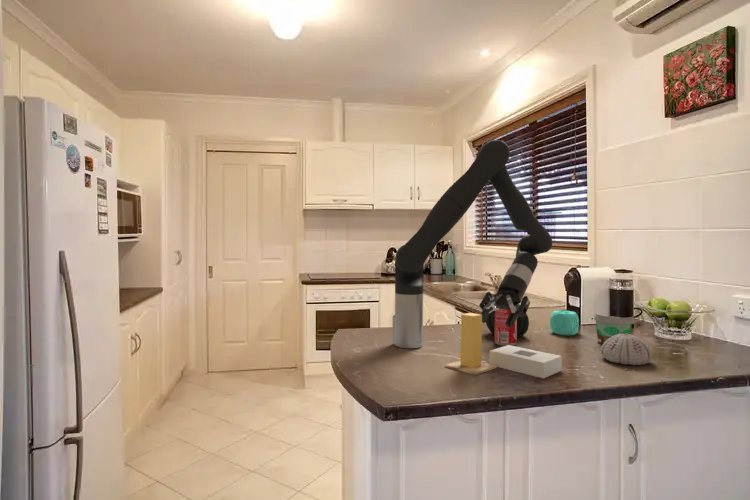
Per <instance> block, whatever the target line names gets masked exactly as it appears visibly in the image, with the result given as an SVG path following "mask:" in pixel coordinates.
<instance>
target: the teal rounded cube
mask: <svg viewBox="0 0 750 500" xmlns="http://www.w3.org/2000/svg"><path fill="white" fill-rule="evenodd" d="M579 319H580V318H579V314H577V313H576V312H575V311H573V310H571V311H570V310H553V312H551V315H550V320H549V326H550V331H551V332H552V333H553V334H556V335H560V336H574V335H576V334H577V333H578V331H579V324H580V320H579Z"/></svg>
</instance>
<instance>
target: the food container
mask: <svg viewBox="0 0 750 500" xmlns="http://www.w3.org/2000/svg"><path fill="white" fill-rule="evenodd" d="M594 314H595V315H593V320H594V321H595V325H596V336H597V338H596V339H597V344H599V345H601V346H602V345H603V344H604V342H606V340H608V339H609V338H611V337H612V336H615V335H618V334H631V335H632V327H633V324H635V318H634V316H633V315H632V316H629V317H620V316H615V315H612V316H611V315H610V316H605V315H602V314H597V313H594Z"/></svg>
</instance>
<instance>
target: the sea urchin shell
mask: <svg viewBox="0 0 750 500" xmlns="http://www.w3.org/2000/svg"><path fill="white" fill-rule="evenodd" d="M599 351H600V354H601V356H602V357H603V358H604V359H606V361H609V362H611V363H614V364H620V365H630V366H642V365H647V364H650V362H651V361H652V359H653V352H652V349H651V348H650V346H649V345H647V343H646V342H645V341H644V340H642V339H641V338H639V337H637V336H636V335H633V334H632V333H631V334H618V335H615V336H612V337H611V338H609V339H608V340H606V342H604V344H603V345H601V347H600V350H599Z"/></svg>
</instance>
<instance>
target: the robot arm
mask: <svg viewBox="0 0 750 500" xmlns="http://www.w3.org/2000/svg"><path fill="white" fill-rule="evenodd" d="M510 153H511V152H510V148H509V146H508V144H507V143H506V142H504V141H503V140H498V139H495V140H493V139H492V140H490V141H488V142H486V143H484V144H483V145H482V146H481V147H480V148H479V149H478V151H477V153H476V156H475V157H476V158H475V159H474V161H473V162H472V164H471V165H470V166H469V168H468V169H467V170H466V171H465V172H464V173H463V174H462V175H461V176H460V177H459V178H458V179H457V180H455V182H453V183H452V184H451V186H450V187H448V189H447V190H446V191H444V193H443V194H442V195H441V196H440V198H439V199H438V200H437V202H435V204H434V205H433V207H432V208H431V210H430V212H428V215H427V216H426V218H425V220H424V221H423V223H422V225H421V226H420V227H419V229H418V230H417V232H415V234H414V235H413V236H412V237H410V239H409V240H408V241H407V242H406V243H405V244H404V245H401V246H400V247H399V248H398V249H397V251H396V253H395V259H394V260H395V261H394V262H395V263H394V265H395V267H394V272H395V274H394V276H395V277H394V314H393V315H392V329H391V330H392V337H391V339H392V341H391V344H392V345H394V346H395V347H397V348H402V349H419V348H421V347H423V345H424V344H423V342H424V341H423V336H424V264H425V262H426V261H427V259H428V257H430V254H431V253H432V252H433V250H434V249H435V247H436V246H437V244H439V243H440V241H441V240H442V239H443V238H445V237H446V236H447V234H448V233H449V232H450V231H451V230H452V229H453V228H454V227H455V226H456V225H457V223H458V222H460V220H461V219H462V217H463V216H464V215H465V214H467V212H468V210H469V209H470V207H471V206H472V205H473V203H474V202H475V201H476V199H477V198H478V196H479V195H480V194H481V192H482V190H483V189H484V188H485V187H486V185H487V184H488V182H489V183H491V186H492V187H493V188H494V191H496V193H497V195H498V197H499V199H500V201H501V203H502V205H503V206H504V209H505V211H506V213H507V215H508V217H509V219H510V221H511V223H512V224H513V226H514V228H515V230H517V231H525V232H527V234H525V235H524V236H523V237H521V238H520V239H519V241H518V243H517V246H516V252H515V257H514V259H513V261H512V263H511V265H510V267H509V268H508V269H507V271H506V272H505V275H504V276H503V278H502V280H501V282H500V283H499V285H498V289H497V292H495V293H491V292H490V291H487V292H486V293H485V295H484V297H483V298H482V300H481V302H480V303H479V308H480V310H481V313H480V314H481V315H482V324H485V323H486V320H487V318H488V316H489V313H491V312H492V311H496V310H498V309H506V310H509V309H511V312H512V313H510V314H509V316H508V318H507V320H506V322H505V324H506V326H507V327H508V328H510V327H511V326H513V324H514V322H515V320H516V318H518V317H520V316H521V317H525V315H526V314H527V312H528V309H529V307H530V304H531V300H530V299H529V297H528V295H525V294H526V291H527V289H528V287H529V285H530V283H531V281H532V277H533V275H534V273H535V271H536V269H537V267H538V263H539V262H538V258H537V255H540V254H545V253H547V252H549V251H551V249H552V248H553V239H552V236H551V234H550V232H549V231H548V230H547V229H546V228H545V226H543V224H542V223H541V222H540V221H539V219H537V218H536V216H535V214H534V213H533V211H532V208H531V206H530V204H529V202H528V200H527V199H526V197H525V195H524V194H523V193H522V192H521V190H520V189H519V187H517V186H516V184H515V183H514V181H513V180H512V178H511V176H510V174H509V172H508V169H507V166H506V165H507V163H508V161H509V158H510ZM494 303H496V306H494ZM518 304H519V305H520V307H519V309H518V310H517V309H516V307H515V306H516V305H518ZM491 306H492V307H491ZM490 307H491V308H490ZM489 308H490V309H489Z"/></svg>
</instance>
